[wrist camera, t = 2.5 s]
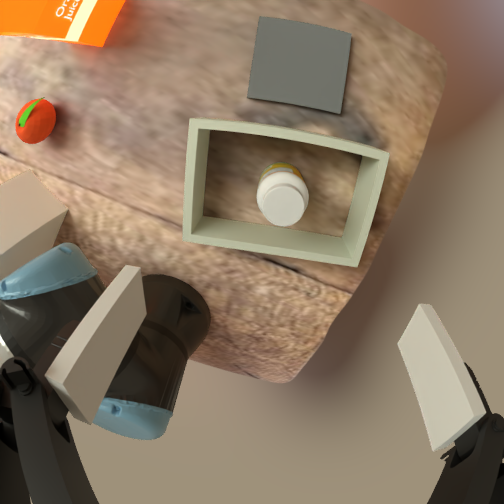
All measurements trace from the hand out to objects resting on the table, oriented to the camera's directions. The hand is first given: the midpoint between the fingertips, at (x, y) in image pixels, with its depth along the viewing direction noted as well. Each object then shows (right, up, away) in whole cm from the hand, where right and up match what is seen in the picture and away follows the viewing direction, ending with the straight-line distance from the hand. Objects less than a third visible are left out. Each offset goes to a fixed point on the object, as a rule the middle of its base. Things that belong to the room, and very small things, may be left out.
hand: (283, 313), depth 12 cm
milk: (-39, +10, +27) cm, 49 cm away
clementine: (-32, +24, +18) cm, 44 cm away
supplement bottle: (+2, +11, +22) cm, 25 cm away
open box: (+2, +11, +22) cm, 25 cm away
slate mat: (+4, +25, +15) cm, 29 cm away
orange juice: (-23, +36, +11) cm, 44 cm away
